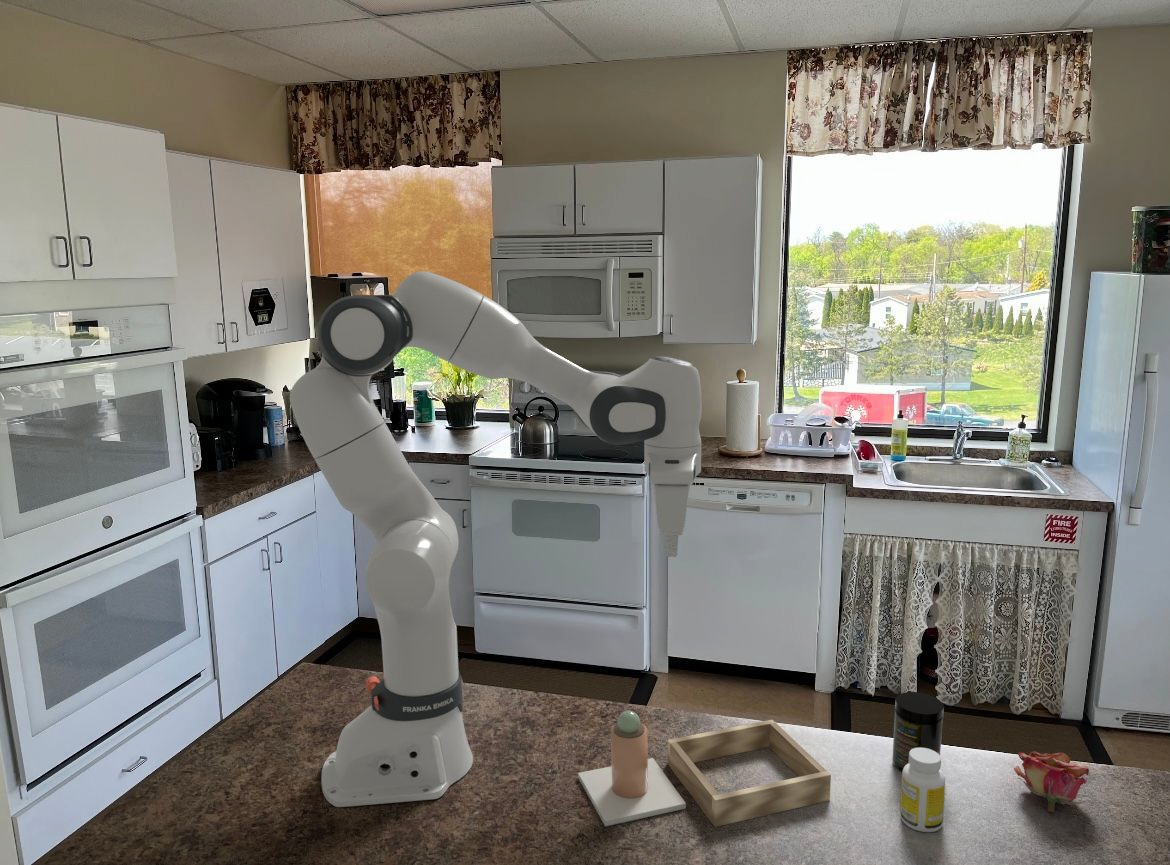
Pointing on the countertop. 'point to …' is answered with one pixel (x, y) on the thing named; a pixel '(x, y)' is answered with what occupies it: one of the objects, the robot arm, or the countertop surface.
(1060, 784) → the flower
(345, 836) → the countertop surface
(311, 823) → the countertop surface
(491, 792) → the countertop surface
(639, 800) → the paving tile
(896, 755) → the supplement container
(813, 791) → the brown wooden rectangular frame
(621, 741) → the peach bottle
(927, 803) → the supplement bottle
